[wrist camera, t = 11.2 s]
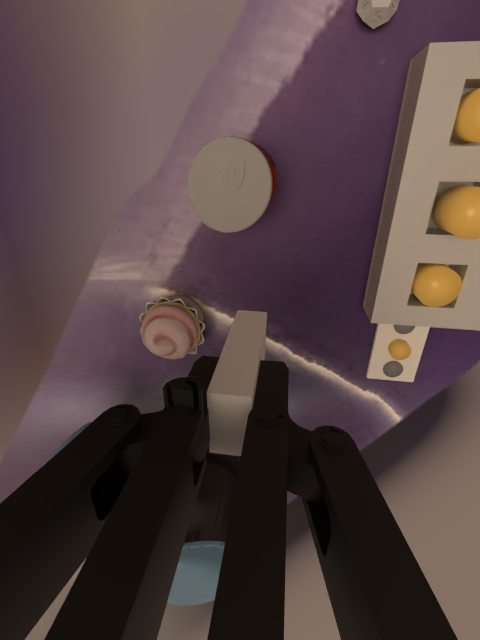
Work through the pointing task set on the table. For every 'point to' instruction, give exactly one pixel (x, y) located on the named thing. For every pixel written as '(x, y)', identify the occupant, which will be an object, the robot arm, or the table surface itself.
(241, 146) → the canned food
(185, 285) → the table surface
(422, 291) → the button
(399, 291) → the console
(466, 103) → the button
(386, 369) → the pattern card
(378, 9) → the game die
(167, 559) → the robot arm
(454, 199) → the button mid
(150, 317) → the cupcake
